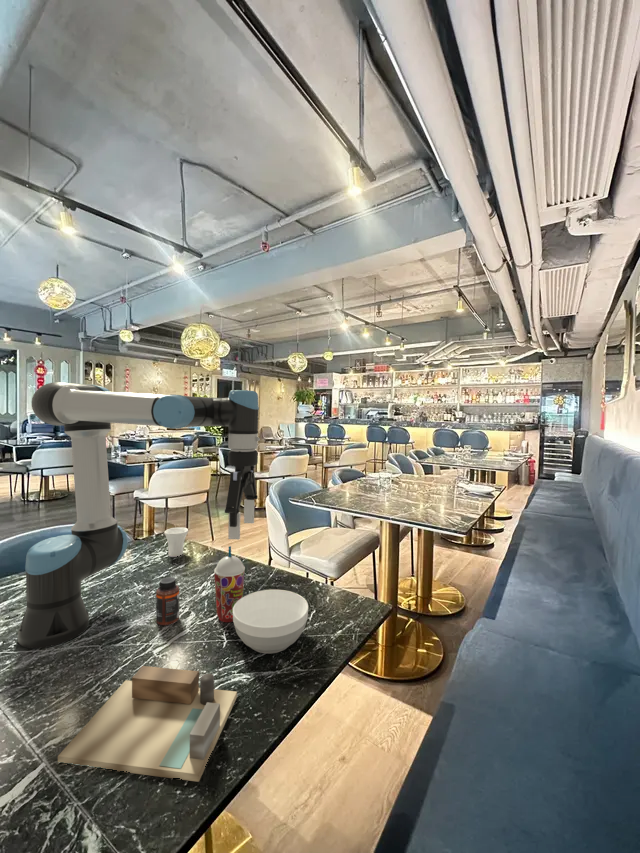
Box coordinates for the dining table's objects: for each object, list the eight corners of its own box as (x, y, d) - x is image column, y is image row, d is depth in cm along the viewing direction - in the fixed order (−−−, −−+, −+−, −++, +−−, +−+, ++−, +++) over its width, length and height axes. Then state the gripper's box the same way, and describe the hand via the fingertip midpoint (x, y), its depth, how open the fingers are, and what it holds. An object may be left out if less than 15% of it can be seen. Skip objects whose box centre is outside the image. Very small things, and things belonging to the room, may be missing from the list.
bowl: (316, 657, 92) (317, 620, 91) (235, 671, 86) (235, 632, 86) (298, 616, 110) (298, 585, 109) (229, 625, 104) (230, 593, 104)
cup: (159, 558, 150) (159, 532, 150) (172, 549, 160) (172, 525, 159) (180, 560, 149) (180, 534, 149) (192, 551, 158) (192, 527, 158)
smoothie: (237, 627, 103) (237, 553, 103) (208, 623, 105) (208, 550, 104) (249, 611, 112) (249, 542, 111) (222, 608, 113) (222, 540, 113)
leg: (198, 690, 78) (198, 671, 78) (190, 704, 74) (190, 683, 74) (142, 684, 79) (142, 665, 79) (132, 697, 76) (131, 677, 76)
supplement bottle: (184, 617, 108) (184, 577, 107) (167, 628, 102) (167, 586, 102) (168, 613, 110) (168, 573, 110) (151, 623, 105) (151, 582, 104)
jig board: (57, 763, 63) (57, 730, 63) (125, 685, 81) (125, 659, 81) (198, 781, 60) (199, 747, 60) (236, 697, 78) (237, 670, 78)
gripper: (243, 455, 88) (242, 547, 89) (267, 445, 113) (266, 517, 114) (211, 454, 89) (210, 545, 90) (242, 445, 114) (241, 516, 115)
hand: (242, 530), depth 102 cm, fingers open, 13 cm apart
